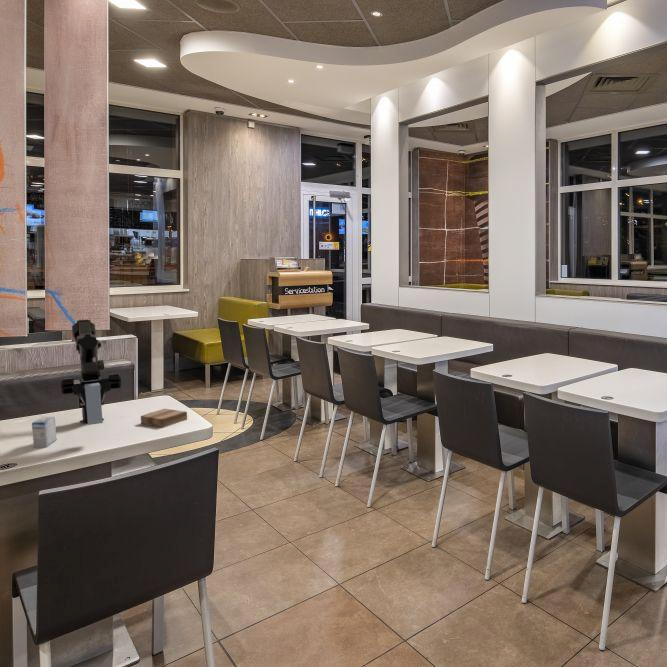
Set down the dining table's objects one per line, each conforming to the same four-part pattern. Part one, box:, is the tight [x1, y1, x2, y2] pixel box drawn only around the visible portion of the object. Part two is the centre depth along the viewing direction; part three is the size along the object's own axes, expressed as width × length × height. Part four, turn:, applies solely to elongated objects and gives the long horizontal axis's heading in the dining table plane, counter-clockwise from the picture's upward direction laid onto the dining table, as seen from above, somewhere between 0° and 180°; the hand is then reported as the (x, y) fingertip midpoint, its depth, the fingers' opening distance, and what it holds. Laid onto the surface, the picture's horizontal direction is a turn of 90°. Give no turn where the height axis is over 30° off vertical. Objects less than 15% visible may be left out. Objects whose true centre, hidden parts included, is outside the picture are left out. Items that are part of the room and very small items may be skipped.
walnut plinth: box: [140, 408, 188, 428], centre depth 212 cm, size 12×12×3 cm
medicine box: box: [31, 415, 57, 449], centre depth 187 cm, size 8×4×9 cm, turn 5°
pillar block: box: [85, 383, 104, 426], centre depth 186 cm, size 4×4×13 cm
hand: (93, 404), depth 184 cm, fingers closed on pillar block, 4 cm apart
